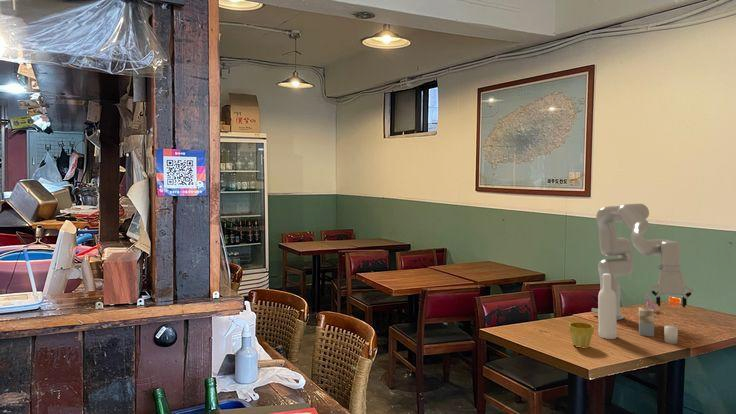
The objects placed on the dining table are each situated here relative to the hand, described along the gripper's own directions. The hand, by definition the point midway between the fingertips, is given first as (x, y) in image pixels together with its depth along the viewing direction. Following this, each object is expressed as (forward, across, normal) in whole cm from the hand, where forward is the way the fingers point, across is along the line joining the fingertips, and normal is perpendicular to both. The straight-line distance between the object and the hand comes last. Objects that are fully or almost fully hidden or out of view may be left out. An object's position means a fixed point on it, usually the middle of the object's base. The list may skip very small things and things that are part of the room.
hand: (671, 306), depth 228 cm
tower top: (+10, -9, +10) cm, 17 cm away
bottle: (+17, -26, 0) cm, 31 cm away
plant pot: (+17, -37, -18) cm, 44 cm away
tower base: (+16, -9, +10) cm, 22 cm away
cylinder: (+17, 0, 0) cm, 17 cm away
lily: (+16, -4, +55) cm, 57 cm away
